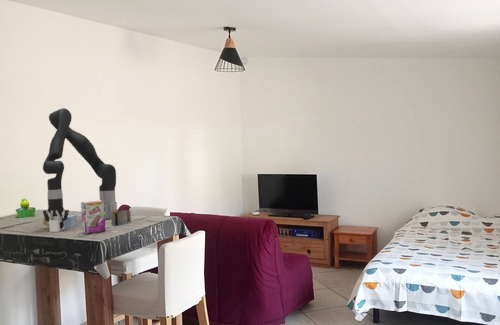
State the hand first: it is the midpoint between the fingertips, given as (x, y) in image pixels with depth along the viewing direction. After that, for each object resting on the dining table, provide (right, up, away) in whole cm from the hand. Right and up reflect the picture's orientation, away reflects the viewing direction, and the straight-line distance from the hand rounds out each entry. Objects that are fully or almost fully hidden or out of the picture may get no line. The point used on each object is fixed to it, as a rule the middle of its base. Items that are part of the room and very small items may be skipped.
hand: (56, 228), depth 269 cm
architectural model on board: (+32, 0, +14) cm, 34 cm away
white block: (0, -1, 0) cm, 1 cm away
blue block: (+3, 0, +11) cm, 11 cm away
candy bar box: (+23, -1, -8) cm, 24 cm away
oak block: (-8, -1, +10) cm, 13 cm away
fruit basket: (-39, +1, +49) cm, 63 cm away
